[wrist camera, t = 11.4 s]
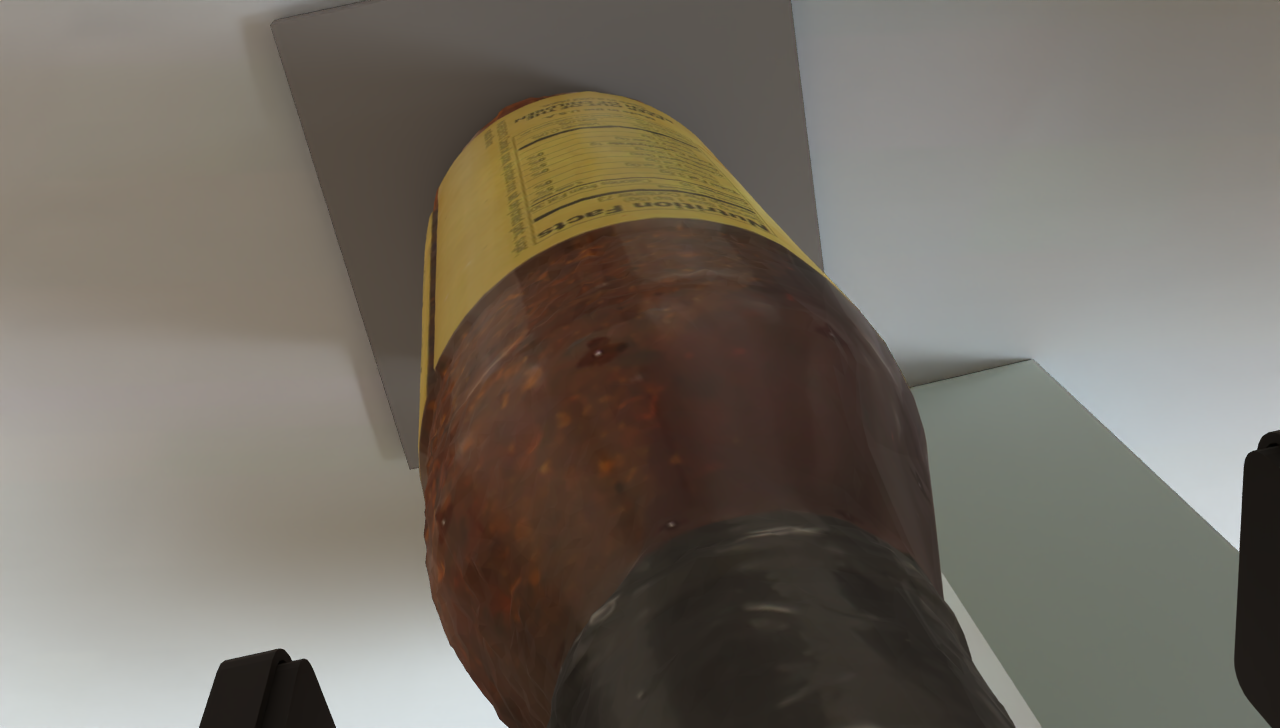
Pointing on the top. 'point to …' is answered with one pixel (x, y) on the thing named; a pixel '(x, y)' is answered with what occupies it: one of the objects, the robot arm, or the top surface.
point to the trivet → (500, 76)
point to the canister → (1076, 563)
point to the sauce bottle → (667, 449)
